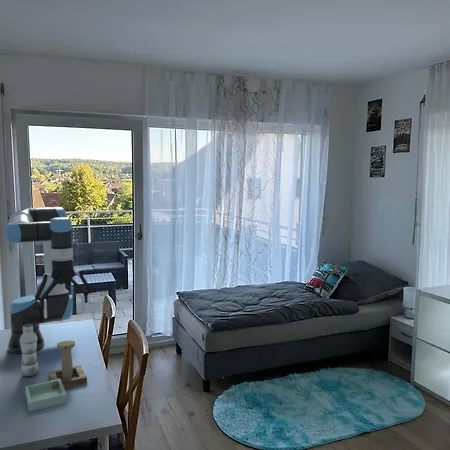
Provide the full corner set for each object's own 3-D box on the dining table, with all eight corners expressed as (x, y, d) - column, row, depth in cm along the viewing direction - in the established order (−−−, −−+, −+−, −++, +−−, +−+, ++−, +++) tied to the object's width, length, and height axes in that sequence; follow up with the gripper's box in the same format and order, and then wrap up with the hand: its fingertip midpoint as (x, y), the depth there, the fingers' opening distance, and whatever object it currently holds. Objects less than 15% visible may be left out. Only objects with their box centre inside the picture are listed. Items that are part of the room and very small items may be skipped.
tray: (25, 394, 150) (25, 386, 150) (60, 386, 156) (60, 378, 156) (28, 411, 139) (28, 403, 139) (66, 402, 145) (66, 393, 145)
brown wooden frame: (48, 378, 163) (48, 372, 163) (80, 371, 169) (80, 365, 169) (53, 391, 153) (52, 384, 152) (87, 383, 159) (86, 377, 158)
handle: (76, 382, 159) (74, 344, 158) (58, 384, 157) (56, 346, 156) (76, 376, 164) (75, 339, 162) (59, 379, 162) (57, 341, 160)
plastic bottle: (19, 379, 162) (16, 329, 160) (23, 371, 168) (20, 323, 166) (37, 377, 164) (35, 328, 162) (40, 369, 170) (38, 322, 168)
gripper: (26, 264, 146) (29, 322, 149) (98, 257, 159) (100, 311, 161) (24, 260, 153) (27, 317, 155) (94, 254, 165) (96, 306, 167)
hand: (65, 314), depth 158 cm, fingers open, 13 cm apart
